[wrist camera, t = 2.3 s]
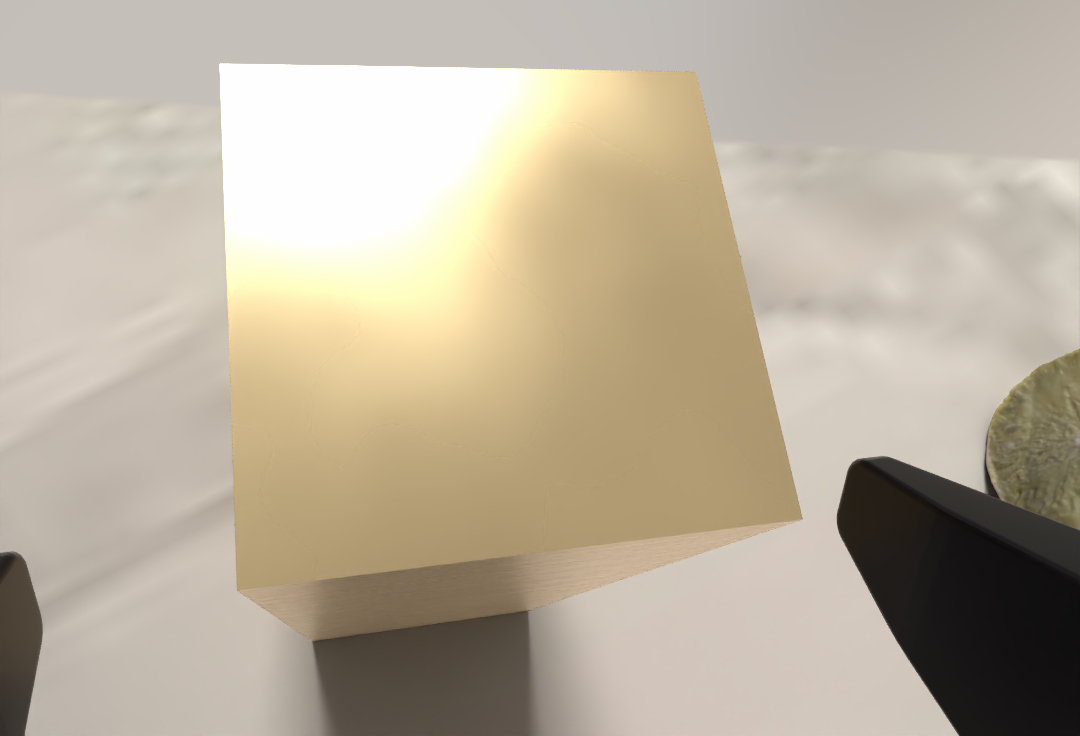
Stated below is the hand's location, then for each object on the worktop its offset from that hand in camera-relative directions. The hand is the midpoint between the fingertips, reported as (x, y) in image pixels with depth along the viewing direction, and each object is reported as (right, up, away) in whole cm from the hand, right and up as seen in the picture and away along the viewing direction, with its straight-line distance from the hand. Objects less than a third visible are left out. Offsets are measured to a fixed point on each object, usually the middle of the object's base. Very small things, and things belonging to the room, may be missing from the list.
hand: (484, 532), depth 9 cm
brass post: (-2, -1, +9) cm, 9 cm away
